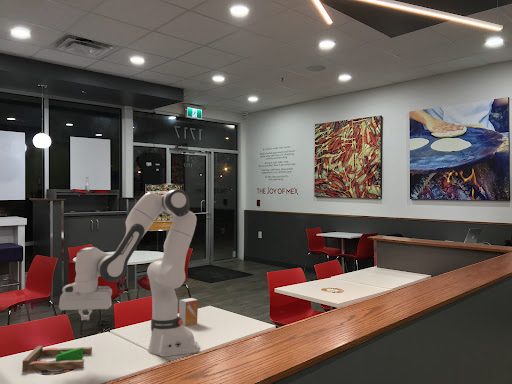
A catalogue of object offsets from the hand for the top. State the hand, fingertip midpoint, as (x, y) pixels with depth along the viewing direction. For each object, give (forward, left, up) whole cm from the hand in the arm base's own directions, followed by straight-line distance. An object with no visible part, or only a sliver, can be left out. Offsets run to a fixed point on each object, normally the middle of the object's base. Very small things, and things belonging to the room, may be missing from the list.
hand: (85, 319), depth 173 cm
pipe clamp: (+6, +1, -17) cm, 18 cm away
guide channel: (+9, 0, -17) cm, 19 cm away
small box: (-43, -47, -17) cm, 66 cm away
